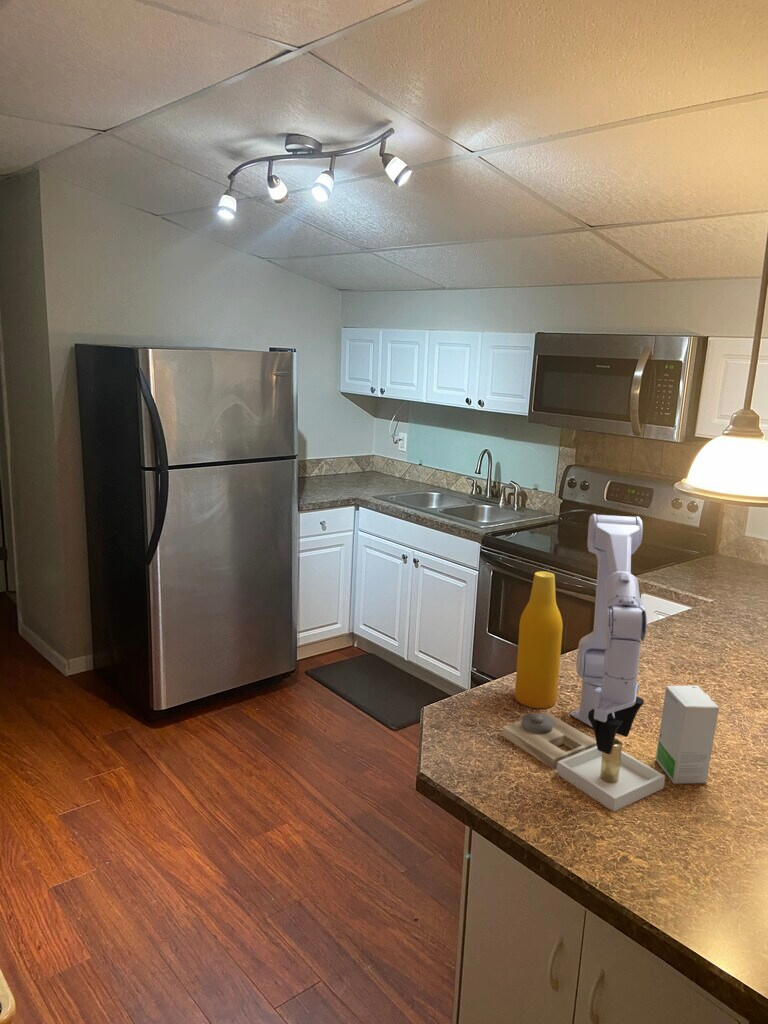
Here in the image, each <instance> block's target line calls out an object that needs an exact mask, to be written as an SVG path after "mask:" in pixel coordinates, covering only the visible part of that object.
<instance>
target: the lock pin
mask: <svg viewBox="0 0 768 1024" xmlns="http://www.w3.org/2000/svg"><path fill="white" fill-rule="evenodd" d="M622 748H623V744H622V742H621V740H619V739H614V743H613V747H612V750H611V752H610V753H609V754H606V753H604V752H602V762H601V772H600V778H601V780H603V781H604V782H607V783H617V782H618V780H619V770H620V761H621V751H623V749H622Z"/></svg>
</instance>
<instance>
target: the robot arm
mask: <svg viewBox="0 0 768 1024" xmlns="http://www.w3.org/2000/svg"><path fill="white" fill-rule="evenodd" d="M643 524H644V523H643V520H642V519H641V517H640V516H624V515H622V516H621V515H610V514H609V515H608V514H607V515H606V514H596V513H592V514H591V515H590V516H589V520H588V526H587V527H588V529H587V542H586V543H587V549H588V552H589V553H591V554H594V555H595V556H596V559H597V575H596V587H595V589H596V590H595V604H594V617H593V619H594V620H593V630H592V631H591V632H590V633H588V634H587V635H585V636H583V637H582V638H581V639H580V640H579V641H578V647H577V648H578V649H577V653H576V674H577V675H578V677H580V678H582V679H581V690H580V691H581V692H580V701H579V704H580V705H579V709H577V710H573V711H570V716H571V717H574V718H575V719H577V720H578V721H580V722H582V723H583V724H585V725H588V726H589V727H591V728H592V729H593V732H594V736H595V740H596V743H597V748H598V750H599V751H601V752H604V753H606V754H609V753H610V752H611V750H612V747H613V743H614V739H615V738H616V735H619V736H622V737H625V738H627V737H628V736H629V734H630V732H631V729H632V726H633V723H634V721H635V718H636V716H637V713H638V712H639V710H640V709H641V707H642V706H643V705H644V702H645V700H644V699H643V697H639V696H637V694H639V689H640V683H638V682H637V680H638V671H639V664H640V663H639V661H640V655H641V654H640V653H641V645H642V643H641V642H645V639H646V634H647V627H648V619H647V612H646V608H645V606H644V603H641V597H640V588H639V587H640V586H639V580H638V579H637V577H636V576H635V575H634V574H632V571H631V570H632V555H634V554H635V552H636V551H637V550H638V548H639V547H640V546H641V544H642V542H643V541H642V540H643V534H644V531H643V530H644V529H643V528H644V527H643Z"/></svg>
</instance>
